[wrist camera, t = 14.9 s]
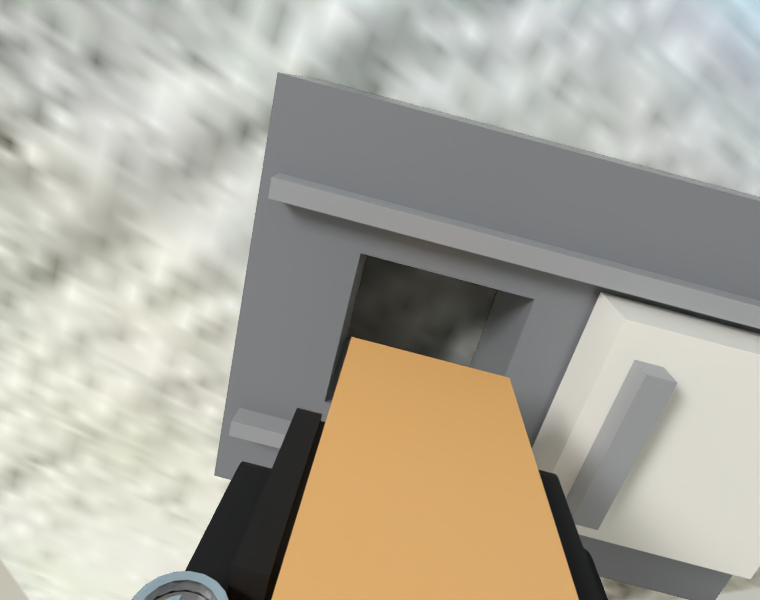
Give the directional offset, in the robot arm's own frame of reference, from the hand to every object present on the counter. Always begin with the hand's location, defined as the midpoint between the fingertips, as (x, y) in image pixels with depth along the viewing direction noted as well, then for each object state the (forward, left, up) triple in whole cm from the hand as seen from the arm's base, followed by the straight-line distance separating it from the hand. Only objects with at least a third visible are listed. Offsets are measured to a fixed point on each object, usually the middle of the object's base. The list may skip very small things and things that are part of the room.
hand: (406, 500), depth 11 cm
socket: (-4, 0, -11) cm, 12 cm away
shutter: (-8, 0, -6) cm, 10 cm away
